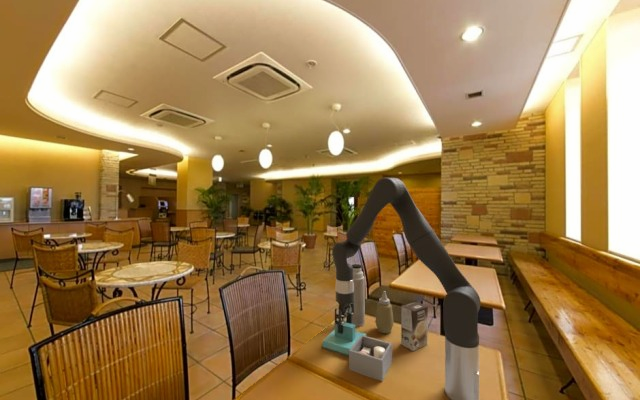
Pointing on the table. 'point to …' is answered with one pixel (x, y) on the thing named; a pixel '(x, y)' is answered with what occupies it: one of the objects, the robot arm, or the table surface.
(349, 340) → the lid
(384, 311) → the squeeze bottle
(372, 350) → the storage box
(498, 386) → the table surface
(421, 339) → the coffee box
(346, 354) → the rubber mat
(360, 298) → the thermos bottle
